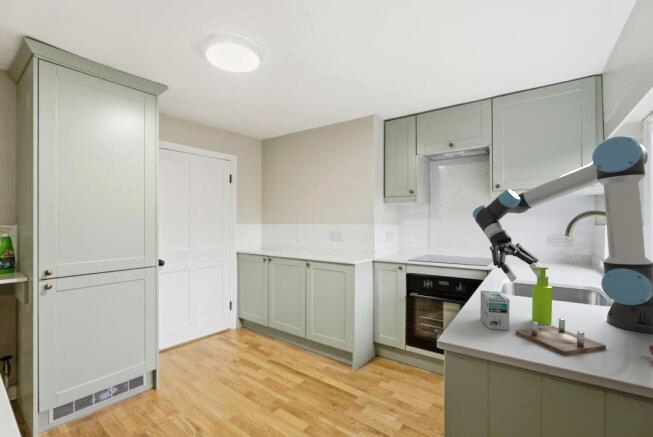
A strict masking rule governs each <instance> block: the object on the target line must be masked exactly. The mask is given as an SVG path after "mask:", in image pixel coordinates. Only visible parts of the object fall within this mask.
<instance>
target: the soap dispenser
mask: <svg viewBox="0 0 653 437" xmlns="http://www.w3.org/2000/svg"><path fill="white" fill-rule="evenodd" d="M532 269H534V270H540V275H538V276H536V283H534V284H532V299H531V300H532V301H531V302H532V304H531V305H532V306H531V307H532V308H531V322H537V323H538V324H540V325H552V322H553V320H552V317H553V316H552V315H553V311H552V310H553V286H551V285H549V276H547V275H546V271H547V270H549V267H546V266H539V267H534V268H532Z"/></svg>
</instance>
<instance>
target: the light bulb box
mask: <svg viewBox="0 0 653 437" xmlns="http://www.w3.org/2000/svg"><path fill="white" fill-rule="evenodd" d="M510 301H511V300H510V299H509V298H508V296H505V295H504V294H502V293H501V292H500V291H491V290H480V317H479V319H480V320H481V321H482V323H483V324H484V325H485V326H486V328H487V329H488V330H498V331H499V330H500V331H509V330H510Z"/></svg>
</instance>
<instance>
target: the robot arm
mask: <svg viewBox="0 0 653 437" xmlns="http://www.w3.org/2000/svg"><path fill="white" fill-rule="evenodd" d="M591 159H592V160H591V161H592V162H591V163H589V164H587V165H584V166H583V167H580V168H577V169H575V170H573V171H570V172H568V173H565V174H564V175H561V176H558V177H556V178H555V179H552V180H550V181H547V182H545V183H543V184H540V185H537V186H536V187H533V188H531V189H528V190H526V191H523V192H521V193H519V194H518V193H516V192H515V191H513V190H511V189H505V190H504V191H502V193H500V194H498V196H497V197H495V199H494V200H493V201H491V202H490V203H489V204H488V205H483V204H482V205H480V206H477V207H476V208H475V209H474V210H473V212H472V217H473V218H474V221H475V223H476V224H477V225H478V226H479V228H480V229H481V231H482V232H483V233H484V235H485V236H486V238H487V239H488V240H489V242H490V244H491V246H490V247H489V249H490V251H491V257H492V263H493V266H494V267H496V268H498V269H501V271H502V272H503V273H504V274H505V275H506V277H507V278H508V280H509V281H510V282H511V283H512V282H514V281H516V280H517V279H518V277H517V275H516V274H515V272H514V270H512V268H511V266H509V264H508V263H507V262H506V257H507V256H513V257H516V258H518V259H519V260H521V261H523V262H524V263H526V264H527V265H529V266H528V267H529V268H530V269H531V271H532V272H533V274H534V275H535V276H536V277H537V276H538V275H540V270H534V269H532V268H534V267H540V266H539V264H537V263H538V262H539V261H540V259H538V258H537V257H536V256H535V255H533V254H532V253H531V252H529V251H528V250H527V249H526V248H524V247H523V246H522V244H520V242H517V243H516V244H514V243H513V242H512V237H511V236H510V234H509V233H508V232H507V230H506V229H505V228H504V226H503V225H502V224H501V222H500V220H501V219H502V218H503V217H505V216H506V215H507V214H522V213H526V212H527V211H528V210H530V209H532V208H535V207H537V206H539V205H542V204H545V203H548V202H551V201H553V200H556V199H558V198H561V197H564V196H567V195H569V194H571V193H574V192H576V191H580V190H582V189H585V188H588V187H590V186H593V185H595V184H597V183H600V184H601V185H602V186H603V194H604V196H603V197H604V207H605V210H604V211H605V219H606V222H605V223H606V235H607V237H606V238H607V248H608V256H607V257H606V258H605V259H604V260H603V276H602V278H601V283H600V284H601V289H602V291H603V292H604V294H605V295H606V296H607V297H608V298H610V300H612V301H613V302H612V304H611V306H610V308H609V310H608V312H607V314H606V322H608V323H609V324H610V325H613V326H615V327H618V328H622V329H625V330H629V331H632V332H633V331H634V332H639V333H645V334H653V261H651V260H650V259H649V258H647V257H646V253H645V252H646V250H645V240H644V226H643V214H642V201H641V189H640V188H641V187H640V182H641V181H642V180H643V179H644V178H646V167H645V165H647V162H648V160H649V152H648V150H647V147H645V146H644V145H643V144H641V143H640V142H639V141H638V140H636V139H635V138H633V137H631V136H621V135H619V136H612V137H609V138H607V139H605V140H603V141H601V142H600V143H599V144H598V145H597V146H596V147H595V148H594V150H593V151H592V155H591Z"/></svg>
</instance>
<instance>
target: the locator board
mask: <svg viewBox="0 0 653 437" xmlns="http://www.w3.org/2000/svg"><path fill="white" fill-rule="evenodd" d="M515 335H517V336H519V337H521V338H523V339H526V340H529V341H530V342H532V343H535V344H537V345H539V346H541V347H544V348H546V349H548V350H551V351H552V352H555V353H558V354H560V355H562V356H564V357H567V356H572V355H577V354H585V353H591V352H598V351H604V350H607V345H606V344H604V343H601V342H599V341H596V340H592V339H590V338H587V337H585V332H583V331H579V330H578V331H577V334H576V333H574V332H570V331H568V330H566V320H565V319H564V318H558V327H557V326H555V325H549V326H543V327H542V326H541V327H539V323H537V322H534V321H531V328H525V329H516V330H515Z"/></svg>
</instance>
